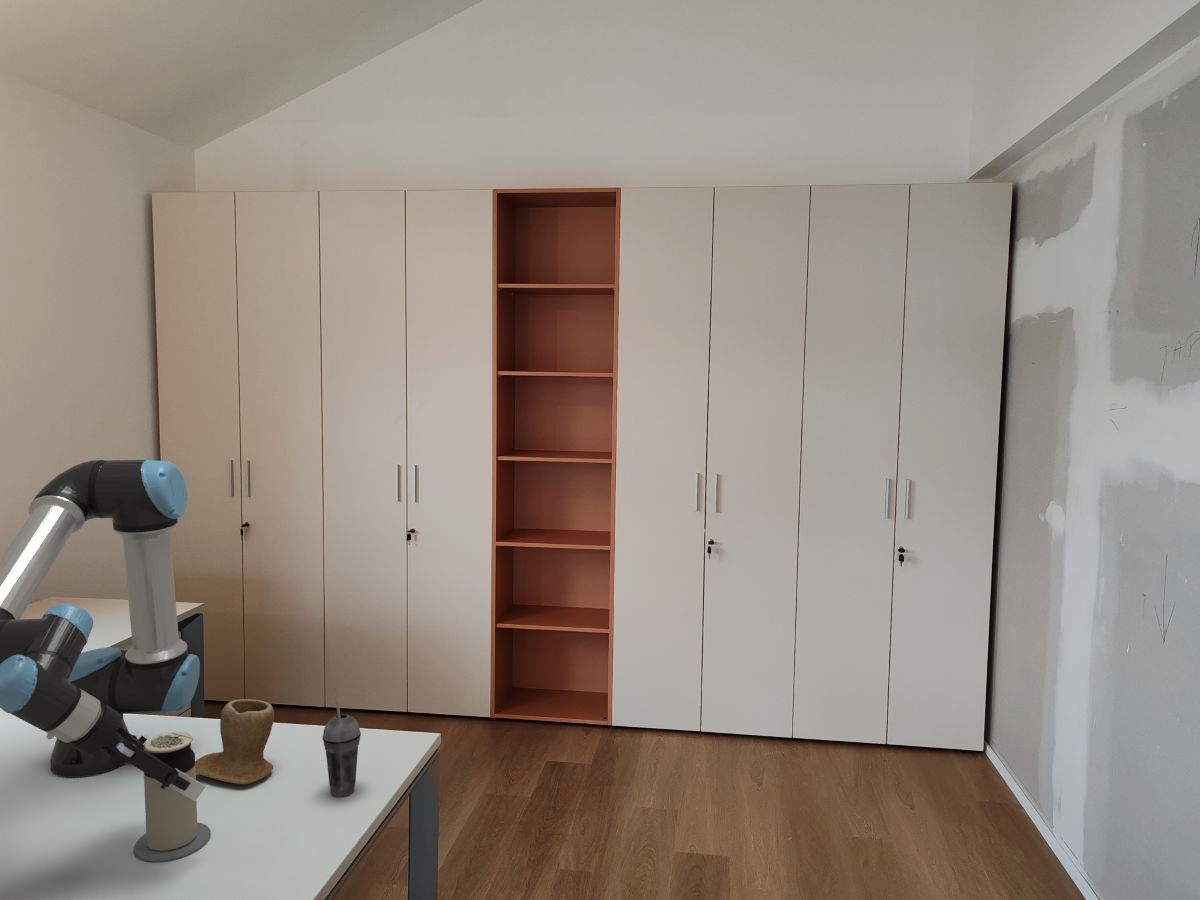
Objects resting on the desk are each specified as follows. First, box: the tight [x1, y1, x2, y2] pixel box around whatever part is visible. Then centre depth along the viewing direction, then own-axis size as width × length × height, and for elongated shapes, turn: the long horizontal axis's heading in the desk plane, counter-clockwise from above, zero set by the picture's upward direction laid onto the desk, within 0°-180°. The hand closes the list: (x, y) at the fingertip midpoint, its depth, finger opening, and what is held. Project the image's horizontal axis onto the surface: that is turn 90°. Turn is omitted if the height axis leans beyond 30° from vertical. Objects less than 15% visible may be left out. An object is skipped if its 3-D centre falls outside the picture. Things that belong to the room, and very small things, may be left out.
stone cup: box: [195, 698, 275, 785], centre depth 171 cm, size 15×12×15 cm
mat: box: [133, 821, 212, 863], centre depth 147 cm, size 12×12×1 cm
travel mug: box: [143, 731, 198, 851], centre depth 146 cm, size 8×8×18 cm
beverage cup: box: [321, 695, 362, 798], centre depth 164 cm, size 7×7×20 cm
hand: (184, 779), depth 147 cm, fingers open, 13 cm apart
